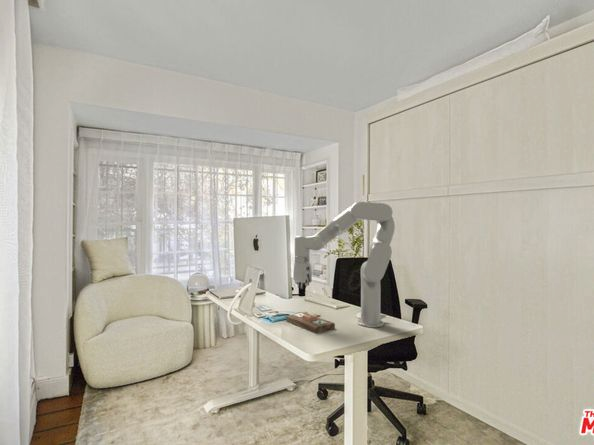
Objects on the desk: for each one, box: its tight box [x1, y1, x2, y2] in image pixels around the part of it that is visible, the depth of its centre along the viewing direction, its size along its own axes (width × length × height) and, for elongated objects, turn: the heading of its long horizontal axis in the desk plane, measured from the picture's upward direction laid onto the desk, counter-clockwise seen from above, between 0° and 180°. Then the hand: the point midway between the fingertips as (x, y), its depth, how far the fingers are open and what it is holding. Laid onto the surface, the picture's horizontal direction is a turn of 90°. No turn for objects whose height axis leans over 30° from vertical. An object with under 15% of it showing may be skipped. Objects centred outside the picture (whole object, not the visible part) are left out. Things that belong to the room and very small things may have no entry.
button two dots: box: [303, 313, 318, 322], centre depth 162 cm, size 5×5×3 cm
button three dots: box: [312, 320, 327, 326], centre depth 156 cm, size 5×5×3 cm
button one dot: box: [293, 312, 305, 318], centre depth 168 cm, size 5×5×3 cm
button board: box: [285, 312, 336, 334], centre depth 162 cm, size 12×23×2 cm, turn 37°
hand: (301, 296), depth 167 cm, fingers closed
